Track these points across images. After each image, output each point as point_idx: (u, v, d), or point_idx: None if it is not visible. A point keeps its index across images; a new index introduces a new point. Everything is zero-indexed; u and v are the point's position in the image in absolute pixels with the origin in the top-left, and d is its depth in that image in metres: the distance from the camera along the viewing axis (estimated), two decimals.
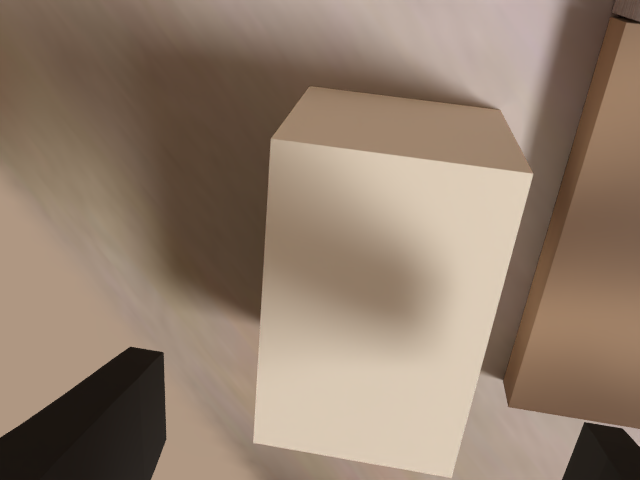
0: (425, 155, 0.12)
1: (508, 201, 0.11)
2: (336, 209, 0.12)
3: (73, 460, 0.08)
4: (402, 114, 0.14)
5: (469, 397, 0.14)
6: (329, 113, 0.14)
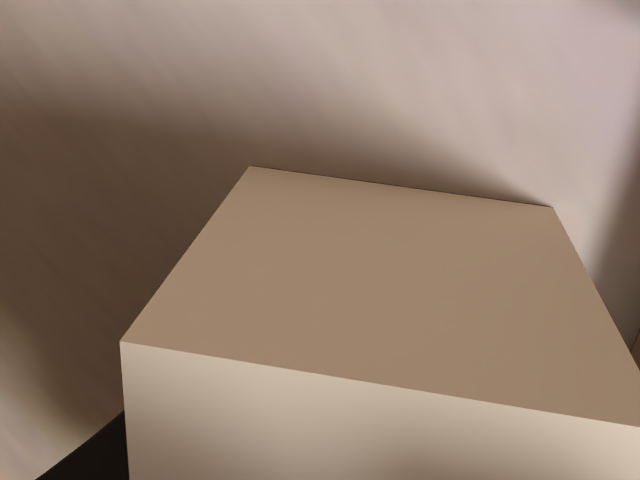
0: (438, 377, 0.06)
1: (612, 475, 0.06)
2: (261, 466, 0.06)
3: None
4: (394, 235, 0.08)
5: None
6: (264, 242, 0.08)
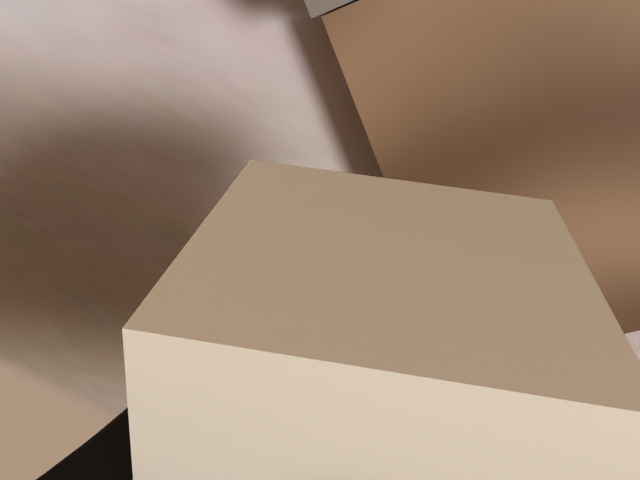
0: (438, 363, 0.06)
1: (609, 460, 0.06)
2: (263, 453, 0.06)
3: None
4: (394, 226, 0.08)
5: None
6: (264, 233, 0.08)
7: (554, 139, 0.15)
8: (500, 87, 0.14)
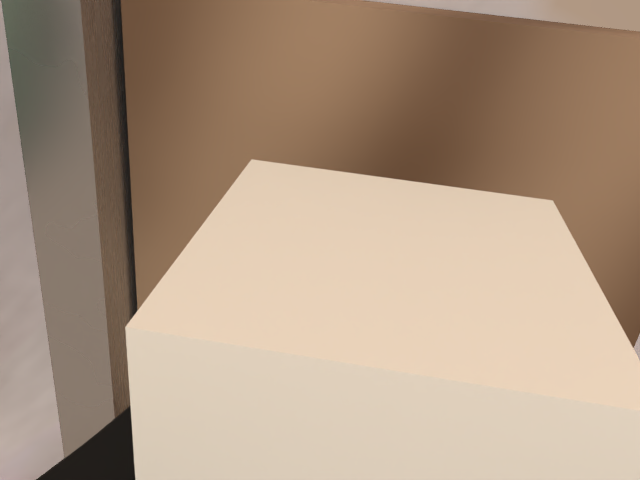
0: (440, 362, 0.06)
1: (610, 459, 0.06)
2: (264, 452, 0.06)
3: None
4: (395, 226, 0.08)
5: None
6: (266, 232, 0.08)
7: None
8: None
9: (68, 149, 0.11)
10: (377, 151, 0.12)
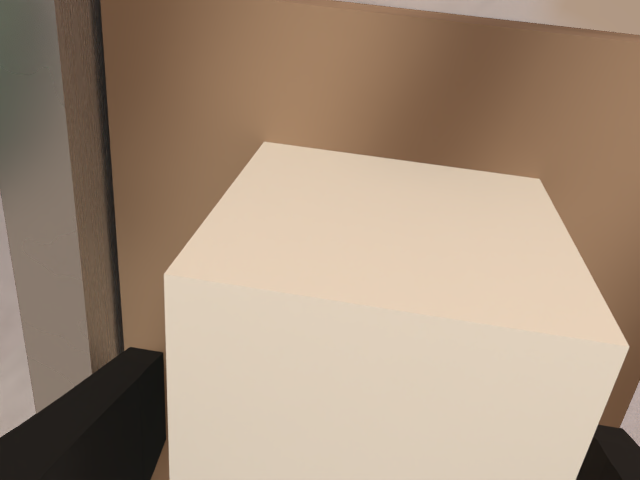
0: (434, 304, 0.07)
1: (580, 387, 0.07)
2: (282, 386, 0.07)
3: (73, 460, 0.08)
4: (396, 198, 0.09)
5: None
6: (281, 202, 0.09)
7: None
8: None
9: (44, 162, 0.10)
10: None
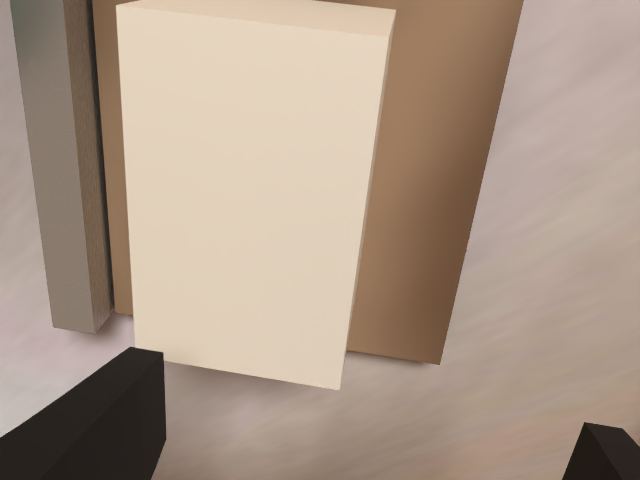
0: (279, 22, 0.11)
1: (366, 70, 0.11)
2: (191, 86, 0.11)
3: (73, 460, 0.08)
4: (283, 5, 0.14)
5: (348, 298, 0.13)
6: None
7: None
8: None
9: None
10: None
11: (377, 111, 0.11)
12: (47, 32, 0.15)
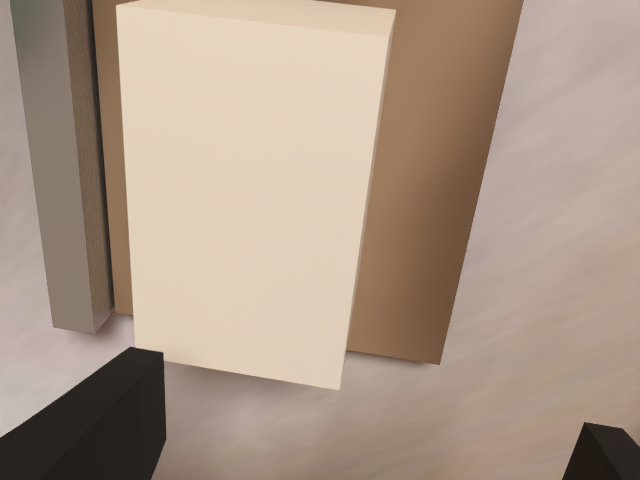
0: (279, 22, 0.11)
1: (366, 70, 0.11)
2: (191, 86, 0.11)
3: (73, 460, 0.08)
4: (283, 5, 0.14)
5: (348, 298, 0.13)
6: None
7: None
8: None
9: None
10: None
11: (377, 111, 0.11)
12: (47, 32, 0.15)
